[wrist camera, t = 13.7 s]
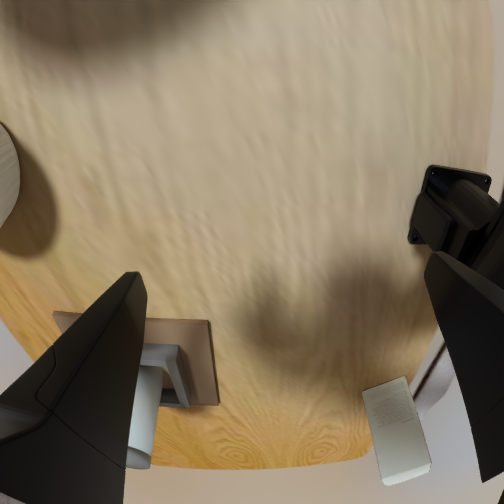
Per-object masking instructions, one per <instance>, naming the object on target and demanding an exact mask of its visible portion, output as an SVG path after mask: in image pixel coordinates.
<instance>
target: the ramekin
mask: <svg viewBox="0 0 504 504" xmlns="http://www.w3.org/2000/svg"><path fill="white" fill-rule="evenodd" d="M19 187H20V167H19V161H18V156H17V152H16V149H15V147H14V144H13V142H12V140H11V138H10V136H9V134H8V133H7V131H6V130H5V129H4V127H3V126H2V125H1V124H0V228H1V226H2V225H3V223H4V222H5V220H6V219H7V217H8V216H9V214H10V213H11V211H12V209H13V207H14V206H15V204H16V201H17V198H18V194H19Z"/></svg>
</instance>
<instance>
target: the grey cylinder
mask: <svg viewBox="0 0 504 504" xmlns="http://www.w3.org/2000/svg"><path fill="white" fill-rule="evenodd" d="M164 375H165V372H164V370H163V368H162V367H160V366H147V365H140V367H139V373H138V379H137V385H136V391H135V398H134V405H133V412H132V419H131V426H130V434H129V442H128V451H127V461H126V467H128V468H133V469H149V468H150V464H151V457H152V450H153V443H154V436H155V429H156V423H157V416H158V410H159V404H160V398H161V392H162V386H163V381H164Z"/></svg>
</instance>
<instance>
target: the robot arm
mask: <svg viewBox="0 0 504 504" xmlns="http://www.w3.org/2000/svg"><path fill="white" fill-rule="evenodd" d="M434 170H435V173H434V174H432V172H433V171H434ZM486 179H487V180H486ZM485 181H486V182H485ZM491 181H492V180H491V177H490V176H489V175H487V174H484V173H479V172H474V171H469V170H463V169H457V168H451V167H445V166H439V165H430V166H429V167H428V168H427V171H426V175H425V179H424V183H423V187H422V191H421V193H420V195H419V199H418V203H417V206H416V210H415V213H414V217H413V220H412V226H411V229H410V232H409V235H408V239H409V241H410V242H411V243H412V244H428V246H429V247H430V249H431V250H432V251H433V253H431V254H430V257H429V260H428V263H427V265H426V268H425V271H424V279H425V283H426V286H427V289H428V292H429V295H430V299H431V302H432V306H433V309H434V313H435V316H436V319H437V322H438V324H439V327H440V330H441V332H442V335H443V338H444V340H445V343H446V346H447V349H448V352H449V355H450V358H451V361H452V364H453V367H454V370H455V373H456V376H457V379H458V382H459V386H460V389H461V392H462V396H463V399H464V403H465V406H466V410H467V414H468V418H469V422H470V426H471V427H472V428H471V431H472V435H473V439H474V444H475V449H476V453H477V458H478V464H479V469H480V475H481V480H482V483H484V482H486V481H488V480H490V479H491V478H493V477H495V476H497V475H499V474H500V473H502V472H504V195H503V197H502V198H503V200H502V202H501V203H500V204H499V203H498V202H497V201H496V200H494V199H493V198H492V197H491V196H490V195H489V194H488V191H489V188H490V185H491ZM415 236H416V237H415ZM414 237H415V238H414ZM146 309H147V291H146V288H145V285H144V283H143V280H142V277H141V274H140V273H139V272H137V271H136V272H126V273H125V274H123V275H122V276H121V277H120V278H119V279H118V280H117V281H116V282H115V283H114V284H113V285H112V286H111V287H110V288H109V289H108V290H106V291H105V292H104V293H103V294H102V295H101V296H100V297H99V298H98V299H97V300H96V301H95V302H94V303H93V304H92V305H91V306H90V307H89V308H88V309H87V310H86V311H85V312H84V313H83V314H82V315H81V316H80V317H79V318H78V319H77V320H76V321H75V322H74V323H73V324H72V325H71V326H70V327H69V328H68V329H67V330H66V331H65V332H64V333H63V334H62V335H61V336H60V337H59V338H58V339H57V340H56V341H55V342H54V343H53V345H51V346H50V347H49V348H48V349H47V351H46V352H45V353H44V354H43V355H42V356H41V357H40V358H39V359H38V360H37V361H36V362H35V363H34V364H33V365H32V366H31V367H30V368H29V369H28V370H27V371H25V373H23V374H22V375H21V376H20V377H19V378H18V379H17V380H16V381H15V382H14V383H13V384H12V385H10V386H9V387H8V388H7V389H6V390H5V391H4V392H3V393H2V394H1V395H0V504H123V497H124V484H125V472H126V471H125V469H126V461H127V451H128V442H129V434H130V426H131V419H132V412H133V405H134V398H135V391H136V385H137V379H138V373H139V367H140V362H141V356H142V351H143V344H144V334H145V321H146ZM498 504H504V490H503V492H502V495H501V497H500V500H499V502H498Z"/></svg>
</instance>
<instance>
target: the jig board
mask: <svg viewBox="0 0 504 504" xmlns="http://www.w3.org/2000/svg"><path fill="white" fill-rule="evenodd" d="M81 315H82V314H80V313H69V312H59V311H54V312H53V314H52V316H53V318H54V320H55V322H56V324H57V325H58V327H59V329H60V331H61V333H62V334H63V333H64V332H65V331H66V330H67V329H68V328H69V327H70V326H71V325H72V324H73V323H74V322H75V321H76V320H77V319H78V318H79V317H80V316H81ZM140 365H147V366H160V367H162V368H163V370H164V372H165V375H164V381H163V386H162V392H161V398H160V404H159V406H163V407H175V408H190V405H210V406H218V395H217V388H216V381H215V374H214V366H213V359H212V351H211V343H210V335H209V327H208V320H183V319H157V318H146V321H145V334H144V344H143V351H142V356H141V362H140Z"/></svg>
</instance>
